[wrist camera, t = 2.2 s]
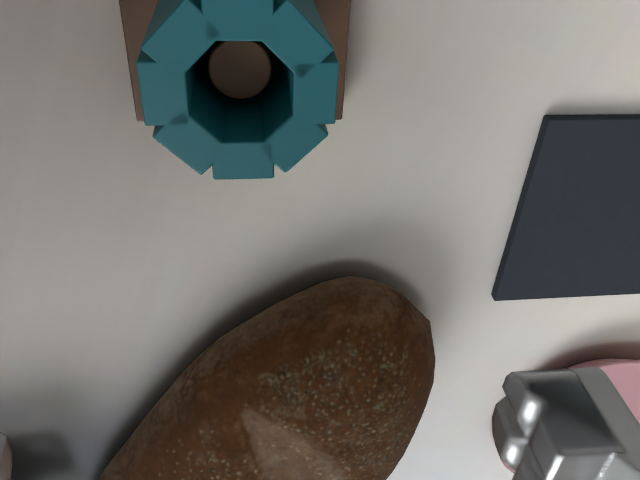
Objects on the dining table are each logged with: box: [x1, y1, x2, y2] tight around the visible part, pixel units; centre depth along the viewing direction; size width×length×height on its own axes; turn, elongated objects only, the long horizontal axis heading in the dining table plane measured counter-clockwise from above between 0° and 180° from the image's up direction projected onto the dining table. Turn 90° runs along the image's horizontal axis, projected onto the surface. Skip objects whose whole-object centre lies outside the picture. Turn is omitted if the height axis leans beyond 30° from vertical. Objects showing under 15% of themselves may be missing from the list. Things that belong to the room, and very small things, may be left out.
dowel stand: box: [119, 0, 351, 121], centre depth 21 cm, size 9×9×8 cm
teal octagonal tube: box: [136, 0, 339, 179], centre depth 20 cm, size 6×6×8 cm
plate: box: [501, 358, 640, 473], centre depth 44 cm, size 14×14×2 cm
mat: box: [491, 115, 640, 301], centre depth 33 cm, size 12×12×1 cm
